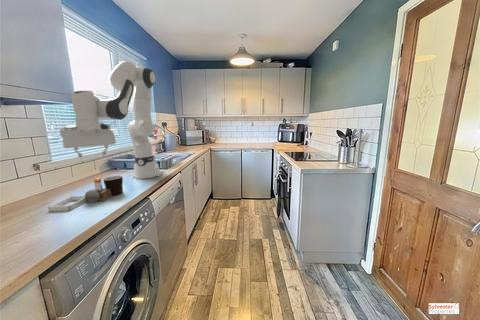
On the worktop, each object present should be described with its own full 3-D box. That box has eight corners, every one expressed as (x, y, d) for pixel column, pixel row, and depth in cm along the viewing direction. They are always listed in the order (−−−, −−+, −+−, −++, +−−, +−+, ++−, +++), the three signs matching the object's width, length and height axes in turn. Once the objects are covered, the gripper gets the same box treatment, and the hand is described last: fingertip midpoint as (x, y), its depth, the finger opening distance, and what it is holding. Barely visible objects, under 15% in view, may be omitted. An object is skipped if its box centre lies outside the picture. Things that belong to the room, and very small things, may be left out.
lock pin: (99, 197, 105) (96, 178, 103) (104, 197, 105) (101, 177, 103) (95, 199, 102) (92, 179, 101) (101, 199, 103) (98, 179, 101)
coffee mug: (119, 199, 106) (116, 179, 104) (102, 199, 106) (99, 180, 104) (131, 191, 117) (128, 174, 116) (116, 191, 118) (113, 174, 116)
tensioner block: (97, 197, 108) (95, 184, 107) (113, 197, 108) (111, 183, 107) (84, 205, 98) (81, 191, 97) (101, 204, 98) (99, 190, 97)
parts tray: (72, 201, 103) (71, 196, 103) (90, 201, 104) (89, 195, 103) (49, 213, 91) (47, 206, 90) (70, 212, 91) (69, 205, 90)
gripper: (58, 127, 88) (64, 159, 91) (114, 125, 101) (118, 154, 104) (59, 127, 93) (64, 157, 96) (112, 125, 106) (115, 152, 108)
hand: (92, 155), depth 100 cm, fingers open, 8 cm apart
